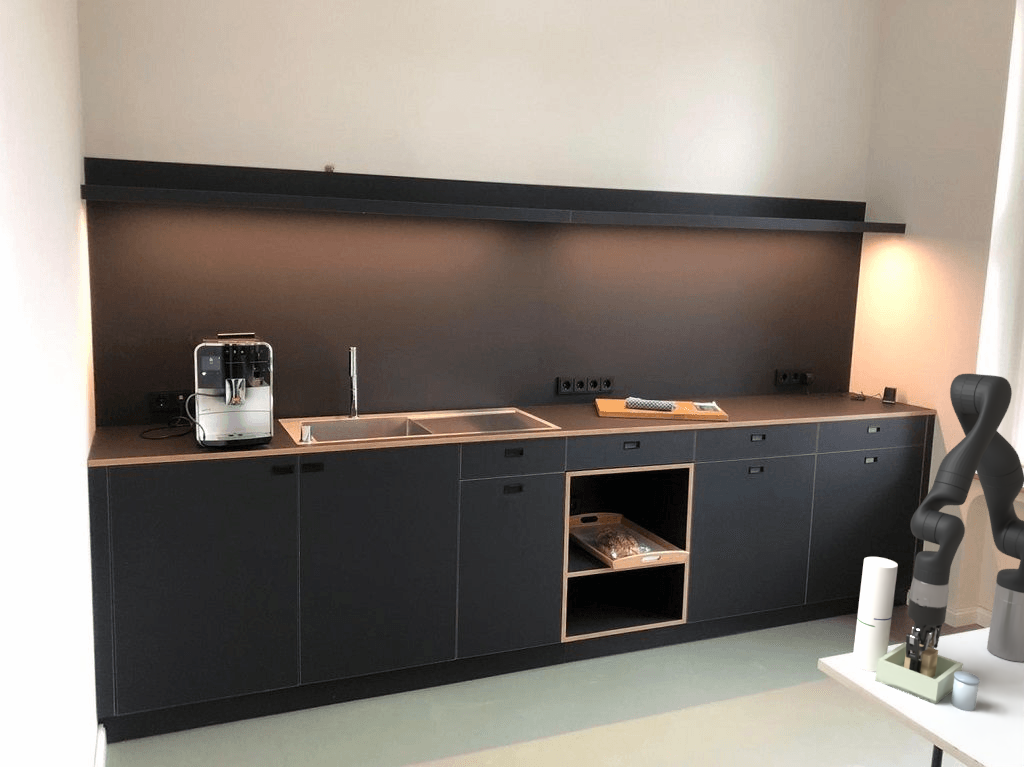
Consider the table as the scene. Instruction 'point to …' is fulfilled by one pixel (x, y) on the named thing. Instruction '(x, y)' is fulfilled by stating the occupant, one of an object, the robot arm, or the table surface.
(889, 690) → the table surface
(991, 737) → the table surface
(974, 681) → the ceramic jar
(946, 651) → the table surface
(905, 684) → the crate
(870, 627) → the cylindrical container
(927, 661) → the oak block
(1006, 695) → the table surface
